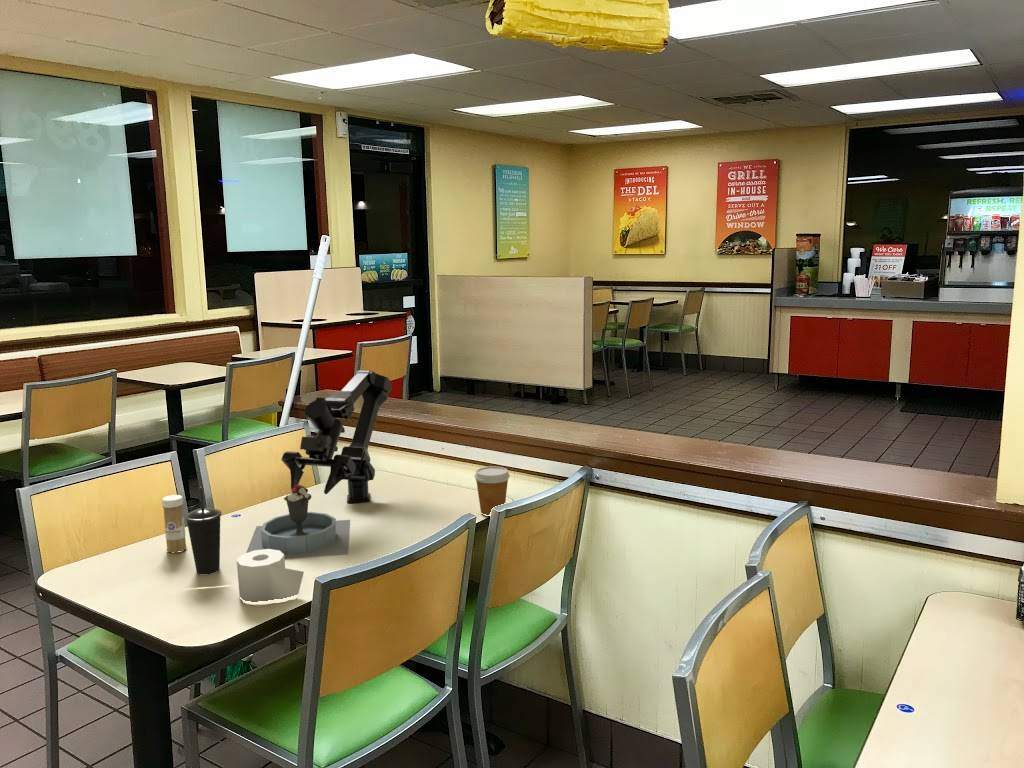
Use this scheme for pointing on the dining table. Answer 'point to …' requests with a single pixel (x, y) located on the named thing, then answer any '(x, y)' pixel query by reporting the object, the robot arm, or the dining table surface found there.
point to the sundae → (298, 507)
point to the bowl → (282, 527)
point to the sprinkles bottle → (174, 523)
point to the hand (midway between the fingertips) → (308, 492)
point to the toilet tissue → (266, 576)
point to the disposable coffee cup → (491, 487)
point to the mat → (332, 549)
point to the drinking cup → (205, 537)
